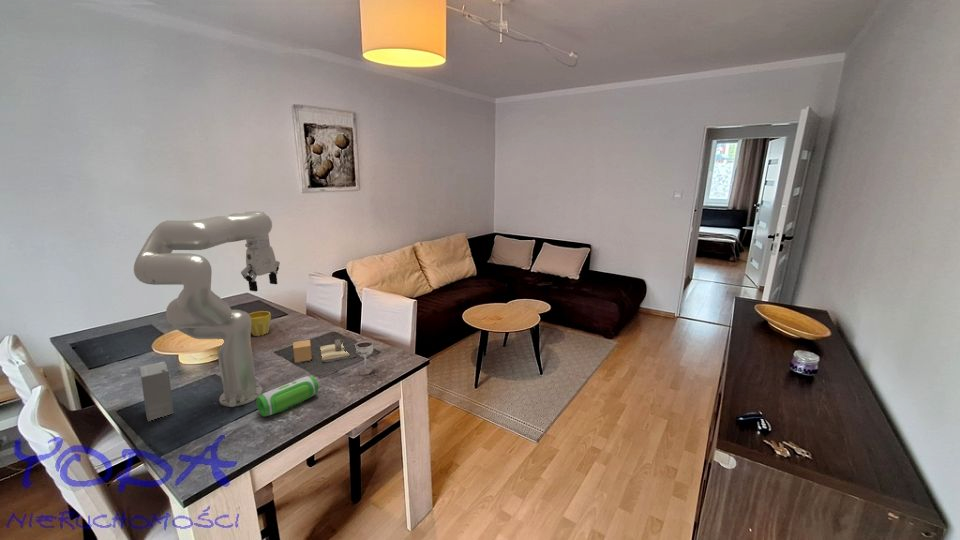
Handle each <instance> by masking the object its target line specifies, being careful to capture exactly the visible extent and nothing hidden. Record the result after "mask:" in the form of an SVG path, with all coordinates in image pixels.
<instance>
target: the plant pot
mask: <svg viewBox="0 0 960 540" xmlns="http://www.w3.org/2000/svg"><path fill="white" fill-rule="evenodd" d="M248 314H249V315H250V317H251V334H252V335H253V336H254V337H261V336H260V335H262V336H265V335H267V334H268V333H269V330H270V329H269V328H270V321H271V320H272V317H271V316H272V314H271V312H270V311H264V310H261V311H260V310H259V311H254V312H251V313H248ZM266 333H267V334H266ZM264 334H265V335H264Z"/></svg>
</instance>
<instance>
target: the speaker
mask: <svg viewBox="0 0 960 540" xmlns="http://www.w3.org/2000/svg"><path fill="white" fill-rule="evenodd" d="M318 392H319V385H318V382H317V379H316V378H315V377H314V376H312V375H310V376H309V375H307V376H303V377H300V378H298V379H296V380H293V381H291V382H288V383H285V384H283V385H281V386H279V387H276V388H273V389H271V390H268V391H266V392H262V394H261V395H260V396H259V397H257V399H255V401H256V402H255V403H256V406H257V410H258V412H259V414H260V415H261V417H267V416H268V417H269V416H271V415H272V416H273V415H274V414H277V413H280V412H283V411H286V410H288V409H290V408H293V407H294V405H295V406H297V405H299V404H301V403H303V402H304V401H303V400H305V401H306V400H308V399H310V398H313V397H314V396H315V395H316V394H317V393H318ZM302 401H303V402H302ZM300 402H301V403H300ZM298 403H299V404H298ZM296 404H297V405H296ZM289 407H290V408H289ZM285 409H286V410H285Z"/></svg>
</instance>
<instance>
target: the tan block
mask: <svg viewBox="0 0 960 540" xmlns="http://www.w3.org/2000/svg"><path fill="white" fill-rule="evenodd" d="M292 346H293V347H292V350H293V358H294V363H295V362H300V361H305V360H310V359H312V360H313V358H312V345H311V339H306V340H300V341H294V342H293V343H292Z"/></svg>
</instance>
